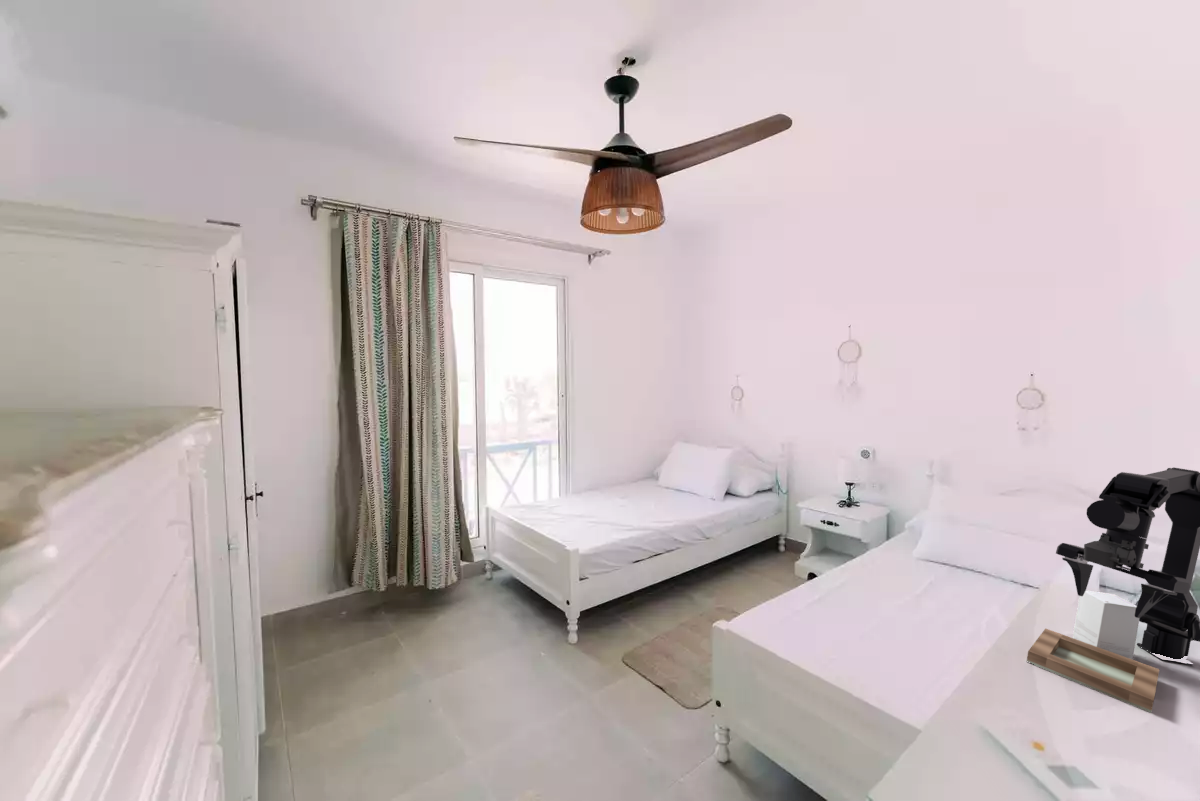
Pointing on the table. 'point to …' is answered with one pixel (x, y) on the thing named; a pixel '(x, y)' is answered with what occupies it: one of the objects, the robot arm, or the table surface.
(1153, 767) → the table surface
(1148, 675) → the pocket board
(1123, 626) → the supplement box
